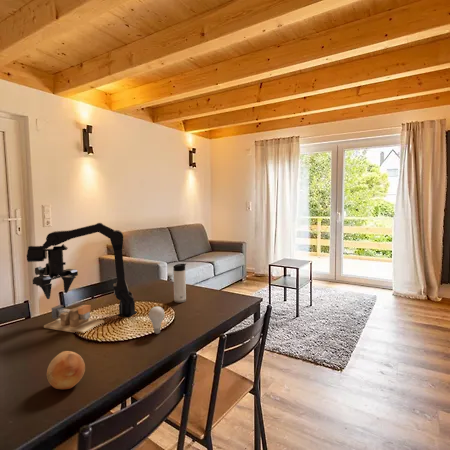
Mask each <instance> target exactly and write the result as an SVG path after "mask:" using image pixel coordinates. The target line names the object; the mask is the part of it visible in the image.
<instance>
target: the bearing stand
mask: <svg viewBox="0 0 450 450" xmlns="http://www.w3.org/2000/svg"><path fill="white" fill-rule="evenodd" d="M84 305H85V304H82V305H79V306H77V307H73V308H70V309H71V310H70V311H69V313H70V317H69V313H67V312H64V313H61V314H60V317H59V318H57V319H55V320H53V321H51V322H48V323H46V324H44V325H43V328H44V329H50V330H56V331H63V332H68V333H75V332H81V333H85V332H86V331H88V332H90V331H91V330H90V329H92V330H94V329H95V328H94V327H96V326H98V325H99V326H101V325H103V324H105V320H102V319H95V318H88V319H86V320H84V319H79V315H78V308H80V307H82V306H84ZM102 323H103V324H102ZM100 324H101V325H100ZM99 326H98V327H99ZM93 328H94V329H93ZM96 328H97V327H96ZM89 330H90V331H89ZM81 333H80V334H81ZM86 333H87V332H86ZM86 333H85V334H86ZM75 334H76V333H75Z"/></svg>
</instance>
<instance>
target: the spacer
mask: <svg viewBox="0 0 450 450" xmlns="http://www.w3.org/2000/svg"><path fill="white" fill-rule="evenodd" d="M83 305H84V306H82V307H80V308H78V314H82V315H83V314H86V313H88V312H90V313H91V311H92V305H91V304H83Z"/></svg>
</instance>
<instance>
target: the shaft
mask: <svg viewBox="0 0 450 450" xmlns="http://www.w3.org/2000/svg"><path fill="white" fill-rule="evenodd" d="M71 309H72V308H70V309H69V308H64V305H61V304H59V305H55V306H53V307H51V318H52V319H55V320H58V319H60V314H61V313H64V312H67V313H69V311H70V310H71ZM78 315H79V319H84V320H86V319H88V318H89V319H91V311H90V312H88V313H86V314H83V315H82V314H78ZM69 317H70V313H69Z"/></svg>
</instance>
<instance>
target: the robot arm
mask: <svg viewBox="0 0 450 450" xmlns="http://www.w3.org/2000/svg"><path fill="white" fill-rule="evenodd" d="M95 233H96V234H97V233H99V234H101V235H103V236H105V237H107V238H108V239H110V243H111V247H112V250H113V256H114V264H115V272H116V273H115V274H116V276H115V277H116V283H113V285H112V286H113V290H114V291H113V295H114V296H115V297H116V299H117V300H118V301H119V304H118V312H119V313H118V314H117V316H118V317H119V316H120V317H127V318H129V317H132V316H133V315H136V313H138V311H137V310H136V304H135V303H136V302H135V301H136V300H134V294H133V292H131V291H130V290H129V287H128V283H127V281H126V277H125V275H126V274H125V267H124V256H123V248H124V234H123V232H122V231H121V230H118V229H112V228H111V227H110V226H109V227H108V226H106V225H105V224H103V223H102V222H97V223H95V224H91V225H87V226H83V227H79V228H75V229H71V230H70V229H69V230H57V231H55V230H54V231H52V232H49V233H48V234H47V235H46V238H45V242H44V243H43V244H42V245H36V246H35V245H28V247H27V253H26V261H27V262H28V263H34V262H35V263H37V262H44V261H45V260H46V259H47V263H46V264H45V266H44V267H42V266H37V267H35V268H34V274H35V275H36V276H34V277H33V279H32V285H35V286H37V287H38V286H39V288H41V289H42V292H43V293H44V295H45V297H46V299H47V300H50V299H51V295H52V294H51V293H52V283H51V282H52V280H56V279H57V280H58V279H60V278H61V279H62V282H63V292H64V294H67V293H68V292H69V290H70V287H71V285H72V283H73V281H74V280H75V279H76V277H77V276H79V273H78V270H77V269H76V268H66V269H64V266H65V265H66V264H67V263H66V262H65V261H64V251H67V250H68V248H69V247H68V246H66V244H65V242H67V241H70V240H72V239H76V238H81V237H83V236H88V235H92V234H95ZM60 244H62V245H60ZM50 247H52V248H50Z"/></svg>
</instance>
